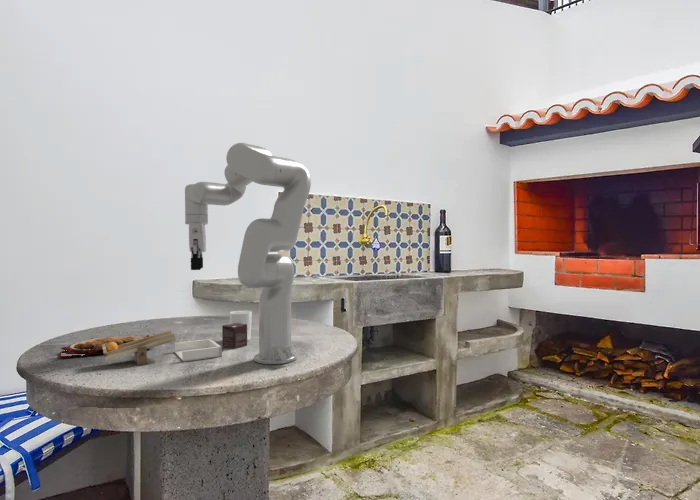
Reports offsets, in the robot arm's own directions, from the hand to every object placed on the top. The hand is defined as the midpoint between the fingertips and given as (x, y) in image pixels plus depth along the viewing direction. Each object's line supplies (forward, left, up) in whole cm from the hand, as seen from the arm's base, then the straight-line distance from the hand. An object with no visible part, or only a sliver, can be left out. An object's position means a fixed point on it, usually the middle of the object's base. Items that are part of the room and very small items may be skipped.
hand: (197, 269), depth 160 cm
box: (-12, -10, -26) cm, 30 cm away
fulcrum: (-17, +20, -26) cm, 37 cm away
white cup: (-3, -15, -26) cm, 30 cm away
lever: (-13, +20, -22) cm, 33 cm away
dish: (-17, +4, -26) cm, 31 cm away
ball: (-17, +28, -21) cm, 39 cm away
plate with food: (+10, +27, -27) cm, 40 cm away
